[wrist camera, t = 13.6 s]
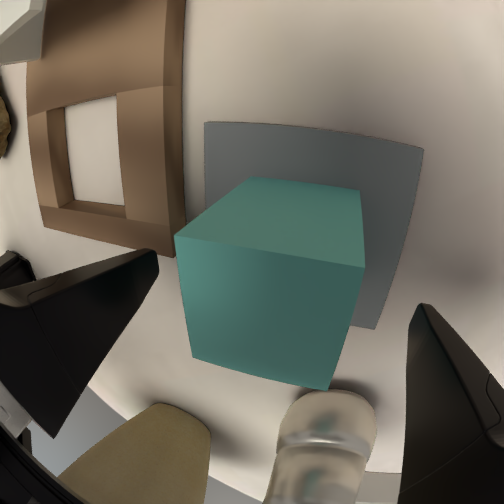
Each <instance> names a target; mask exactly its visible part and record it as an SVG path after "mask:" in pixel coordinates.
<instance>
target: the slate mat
mask: <svg viewBox="0 0 504 504" xmlns="http://www.w3.org/2000/svg"><path fill="white" fill-rule="evenodd" d="M423 152H424V150H423V149H422V148H420V147H416V146H411V145H407V144H403V143H398V142H394V141H389V140H384V139H379V138H374V137H369V136H363V135H358V134H352V133H345V132H339V131H332V130H325V129H317V128H309V127H299V126H289V125H278V124H264V123H246V122H205V123H204V160H205V205H206V210H207V209H208V208H209V207H211V206H212V205H213V204H214V203H216V202H217V201H218V200H220V199H221V198H222V197H224V196H225V195H226V194H228V193H229V192H230V191H232V190H233V189H234V188H236V187H237V186H238V185H240V184H241V183H243V182H244V181H245V180H247V179H248V178H249V177H251V176H253V177H263V178H273V179H282V180H290V181H299V182H306V183H314V184H321V185H328V186H335V187H341V188H348V189H354V190H360V199H361V209H362V221H363V234H364V251H365V271H364V275H363V279H362V283H361V287H360V290H359V294H358V298H357V302H356V305H355V309H354V312H353V316H352V319H351V322H350V325H351V326H357V327H362V328H368V329H374V330H375V328H376V325H377V322H378V320H379V317H380V315H381V312H382V309H383V307H384V304H385V301H386V298H387V295H388V292H389V290H390V287H391V284H392V281H393V278H394V274H395V271H396V268H397V265H398V262H399V258H400V255H401V251H402V248H403V244H404V241H405V237H406V233H407V229H408V226H409V222H410V218H411V213H412V209H413V205H414V200H415V196H416V191H417V186H418V181H419V176H420V170H421V164H422V158H423Z"/></svg>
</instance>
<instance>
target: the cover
mask: <svg viewBox="0 0 504 504" xmlns="http://www.w3.org/2000/svg"><path fill="white" fill-rule="evenodd" d="M46 2H47V0H0V66H2V65H8V64H15V63H22V62H31V61H36V60H38V59H40V52H41V39H42V30H43V21H44V14H45V8H46Z"/></svg>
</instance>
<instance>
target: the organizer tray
mask: <svg viewBox="0 0 504 504" xmlns="http://www.w3.org/2000/svg"><path fill="white" fill-rule="evenodd" d="M400 482H401V474H395V473H374V472H364V475H363V479H362V482H361V486H360V489H359V493H358V496H357V499H356V502H355V503H361V504H397V501H398V495H399V489H400Z"/></svg>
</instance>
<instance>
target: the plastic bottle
mask: <svg viewBox="0 0 504 504" xmlns="http://www.w3.org/2000/svg"><path fill="white" fill-rule="evenodd" d="M376 434H377V425H376V416H375V412H374V409H373V408H372V407H371V405H370V404H369V403H368V402H367V400H366V399H365V398H363V397H362V396H360V395H358V394H356V393H354V392H350V391H346V390H340V389H328V390H327V391H323V390H316V391H313V392H310V393H307V394H305V395H304V396H302V397H301V398H299V399H298V400H296V401H295V402H294V403H293V404H292V405H291V406H290V407H289V409H288V411H287V413H286V415H285V416H284V418H283V420H282V422H281V424H280V429H279V434H278V439H277V449H276V453H277V456H276V459H275V463H274V467H273V470H272V474H271V478H270V482H269V485H268V489H267V493H266V496H265V499H264V501H263V503H262V504H355V502H356V499H357V496H358V493H359V489H360V486H361V482H362V479H363V475H364V471H365V468H366V463H367V462H368V460H369V458H370V455H371V452H372V450H373V446H374V442H375V438H376Z"/></svg>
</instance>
